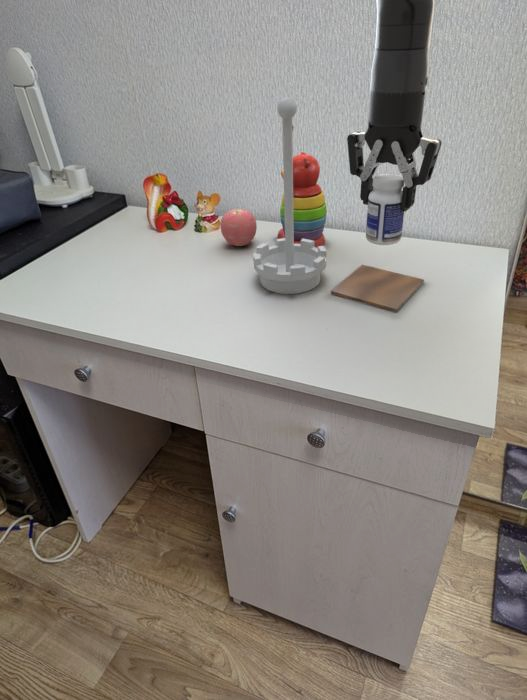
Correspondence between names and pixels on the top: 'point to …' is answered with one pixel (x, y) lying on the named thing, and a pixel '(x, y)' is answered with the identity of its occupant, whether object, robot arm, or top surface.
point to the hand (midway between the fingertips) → (386, 206)
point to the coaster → (378, 287)
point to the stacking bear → (306, 202)
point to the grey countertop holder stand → (289, 233)
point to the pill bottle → (385, 210)
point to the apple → (238, 227)
